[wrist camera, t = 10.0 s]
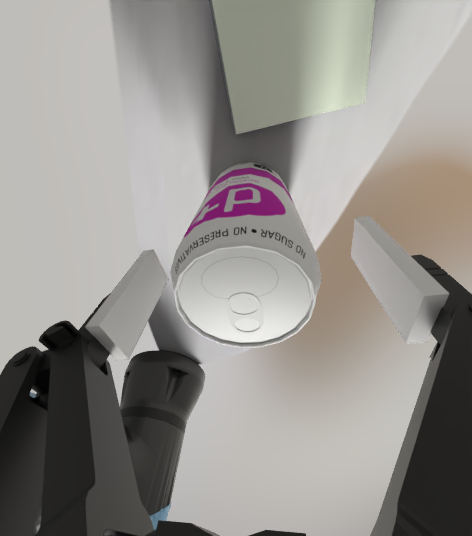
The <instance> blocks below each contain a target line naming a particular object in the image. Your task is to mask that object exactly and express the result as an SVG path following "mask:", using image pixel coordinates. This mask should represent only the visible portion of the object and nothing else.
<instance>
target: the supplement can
mask: <svg viewBox="0 0 472 536" xmlns="http://www.w3.org/2000/svg"><path fill="white" fill-rule="evenodd" d="M170 273H171V278H172V283H173V288H174V297H175V302H176V307H177V311H178V313H179V314H180V315H181V317H182V318H183V320H184V321H185V323H186V324H187V326H189V327H190V328H191V329H193V330H194V331H195V332H197V333H198V334H199V335H201V336H202V337H204V338H206V339H209V340H211V341H214V342H216V343H218V344H221V345H227V346H233V347H238V348H253V347H264V346H268V345H272V344H275V343H279V342H282V341H284V340H285V339H287V338H289V337H291V336H292V335H294V334H296V333H298V332H299V331H300V329H301V328H302V327H303V326H304V325H305V324H306V323H307V322H308V321H309V319H310V318H311V315H312V312H313V309H314V306H315V302H316V300H315V299H316V295H317V292H318V289H319V286H320V283H321V275H320V269H319V262H318V258H317V255H316V253H315V251H314V248H313V246H312V244H311V242H310V239H309V237H308V235H307V233H306V230H305V228H304V226H303V223H302V221H301V219H300V217H299V214H298V212H297V210H296V208H295V205H294V203H293V201H292V198H291V196H290V194H289V192H288V189H287V187H286V185H285V184H284V182H283V181H282V179H281V178H280V176H279V175H278V174H277V173H276V172H274V171H273V170H272V169H270V168H269V167H267V166H266V165H262V164H258V163H253V162H247V163H240V164H235V165H233V166H231V167H230V168H228V169H226V170H225V171H223V172H222V173H221V174H220V175H219V176H218V178H217V179H216V180H215V181H214V183H213V184H212V186H211V188H210V190H209V191H208V193H207V195H206V197H205V199H204V201H203V203H202V204H201V206H200V208H199V210H198V212H197V214H196V215H195V217H194V219H193V221H192V223H191V225H190V226H189V228H188V230H187V232H186V234H185V236H184V238H183V239H182V241H181V243H180V245H179V247H178V249H177V250H176V253H175V257H174V261H173V264H172V268H171V272H170Z"/></svg>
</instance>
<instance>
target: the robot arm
mask: <svg viewBox="0 0 472 536" xmlns="http://www.w3.org/2000/svg"><path fill="white" fill-rule="evenodd" d="M351 257H352V259H353V260H354V262H355V264H356V265H357V267H358V269H359V270H360V272H361V273H362V275H363V276H364V278H365V280H366V281H367V283H368V284H369V286H370V287H371V289H372V291H373V292H374V294H375V295H376V297H377V299H378V300H379V301H380V303H381V305H382V306H383V308H384V310H385V311H386V313H387V314H388V316H389V318H390V319H391V321H392V322H393V324H394V325H395V327H396V329H397V330H398V332H399V333H400V335H401V337H402V338H403V340H404V341H405V343H406V344H407V343H423V342H424V343H425V342H427V340H428V338H429V336H430V334H432V335H433V336H434V337H435V339H436V340H437V341H438V342H437V344H436V346H435V348H434V350H433V351H432V353H431V355H430V357H431V360H430V363H429V367H428V369H427V372H426V375H425V378H424V381H423V384H422V387H421V390H420V394H419V397H418V399H417V402H416V406H415V408H414V412H413V414H412V418H411V420H410V424H409V427H408V429H407V433H406V436H405V438H404V441H403V445H402V447H401V450H400V453H399V457H398V460H397V463H396V465H395V468H394V472H393V474H392V477H391V481H390V483H389V487H388V489H387V492H386V496H385V498H384V501H383V504H382V508H381V511H380V513H379V516H378V519H377V522H376V524H375V526H374V528H373V531H372V533H371V535H370V536H472V294H471V293H469V292H468V291H467V290H466V289H465V288H464V287H463V286H462V285H460V284H459V283H458V282H457V281H456V280H455V279H454V278H452V277H451V276H450V275H448V274H447V272H445V271H444V270H443V269H441V267H440V266H438V265H437V264H436V263H435V262H434V261H433V260H431V259H429V258H426V257H425V256H422V255H414V256H410V255H409V254H408V253H407V252H406V251H405V250H404V249H403V248H402V247H401V246H400V245H399V244H398V243H397V242H396V241H395V240H394V239H392V237H390V236H389V235H388V234H387V233H386V232H385V231H384V230H383V229H382V228H381V227H380V226H379V225H378V224H377V223H376V222H375V221H374V220H373V219H372V218H371V217H370V216H364V217H358V218H355V223H354V233H353V242H352V251H351ZM168 280H169V279H168V277H167V275H166V273H165V271H164V269H163V267H162V265H161V263H160V261H159V259H158V257H157V255H156V253H155V251H154V249H153V250H147V251H143V253H142V254H141V255H140V256H139V258H138V259H137V260H136V262H135V263H134V264H133V265H132V267H131V268H130V269H129V271H128V272H127V273H126V274H125V276H124V277H123V278H122V280H121V281H120V282H119V284H118V285H117V286H116V287H115V289H114V290H113V291H112V293H110V294H109V295H108V296H107V297H105V298H104V299H103V300H102V302H101V303H100V304H99V305H98V307H97V308H96V309H95V310H94V313H92V314H91V315H90V317H89V318H88V319H87V321H86V322H85V323H84V324H83V326H82V327H81V328H80V329H79V331H78V330H77V329H76V328H75V327H74V326H73V325H72V324H71V323H70V322H69V321H61V322H59V323H56V324H54V325H53V326H51V327H49V328H48V329H47V330H46V331H45V332H44V333H43V334H42V335H41V336H40V338H39V341H40V342H41V343H42V344H43V345H44V346H46V347H47V348H48V349H49V350H46V351H43V352H41V351H40V350H39V349H38V348H36V347H29V348H26V349H24V350H22V351H20V352H19V353H17V354H16V355H14V356H13V358H12V359H10V360H9V362H8V363H7V364H6V366H5V368H4V369H3V371H2V373H1V375H0V536H219V535H218V534H216V533H213V532H211V531H208V530H206V529H204V528H201V527H199V526H196V525H194V524H191V523H182V522H171V521H166V519H167V515H168V511H169V509H170V506H171V497H172V492H173V487H174V482H175V477H176V472H177V467H178V462H179V457H180V453H181V447H182V443H183V438H184V433H185V428H186V424H187V420H188V418H189V416H190V414H191V412H192V410H193V408H194V406H195V404H196V402H197V400H198V398H199V396H200V394H201V392H202V390H203V386H204V380H205V374H204V371H203V370H202V369H201V367H200V366H199V365H198V364H197V363H195V362H194V361H193V360H191V359H189V358H187V357H185V356H182V355H179V354H176V353H172V352H167V351H147V352H142V353H140V354H137V355H136V356H134V357H133V358H132V359H131V361H130V363H129V365H128V367H127V369H126V372H125V376H124V383H123V390H122V397H121V404H120V407H119V403H118V398H117V394H116V389H115V386H114V381H113V377H112V372H111V368H110V364H109V362H108V361H107V360H106V359H107V358H108V356H109V354H110V355H112V357H113V358H114V359H115V360H127V359H129V358H130V355H131V354H132V352H133V350H134V347H135V345H136V344H137V342H138V340H139V337H140V336H141V334H142V331H143V330H144V328H145V326H146V324H147V322H148V320H149V318H150V316H151V314H152V312H153V310H154V308H155V306H156V304H157V302H158V300H159V298H160V296H161V294H162V292H163V290H164V288H165V286H166V284H167V282H168ZM31 389H33V390H34V391H36V392H37V394H34V393H31V392H30V391H31ZM249 536H306V534H304V533H294V532H282V531H271V530H265V531H262V532H259V533H255V534H253V535H249Z"/></svg>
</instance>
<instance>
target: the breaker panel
mask: <svg viewBox="0 0 472 536" xmlns="http://www.w3.org/2000/svg"><path fill="white" fill-rule="evenodd" d="M209 2H210V8H211V13H212V18H213V24H214V29H215V34H216V40H217V45H218V50H219V56H220V61H221V67H222V72H223V77H224V83H225V88H226V93H227V99H228V104H229V109H230V115H231V120H232V126H233V131H234V134H240V133H245V132H249V131H253V130H257V129H261V128H265V127H269V126H273V125H277V124H281V123H286V122H290V121H294V120H298V119H302V118H306V117H310V116H314V115H318V114H322V113H327V112H331V111H335V110H339V109H343V108H347V107H351V106H355V105H359V104H363V103H365V100H366V90H367V80H368V70H369V60H370V50H371V40H372V29H373V19H374V9H375V0H209Z"/></svg>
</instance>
